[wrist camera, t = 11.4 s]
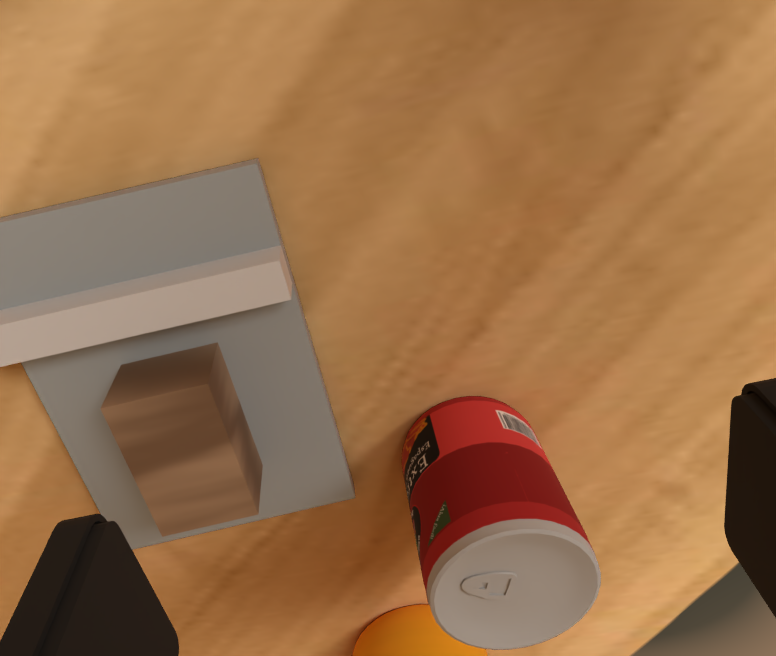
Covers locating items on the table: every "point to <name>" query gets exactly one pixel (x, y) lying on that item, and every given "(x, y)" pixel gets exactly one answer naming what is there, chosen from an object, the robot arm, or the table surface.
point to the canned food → (494, 528)
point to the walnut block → (185, 439)
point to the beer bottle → (410, 636)
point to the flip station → (169, 329)
